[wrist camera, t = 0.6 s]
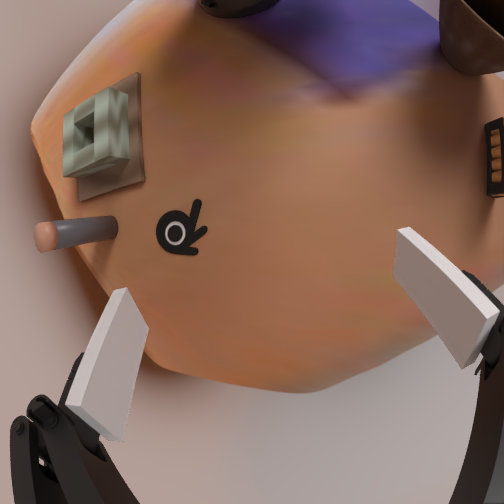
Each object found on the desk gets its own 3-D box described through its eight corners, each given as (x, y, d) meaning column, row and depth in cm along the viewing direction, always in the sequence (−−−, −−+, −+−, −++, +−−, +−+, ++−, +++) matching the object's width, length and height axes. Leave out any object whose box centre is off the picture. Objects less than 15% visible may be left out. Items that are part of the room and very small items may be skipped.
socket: (81, 107, 42) (59, 101, 36) (140, 73, 37) (119, 61, 32) (82, 201, 44) (58, 202, 38) (145, 180, 40) (120, 178, 34)
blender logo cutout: (195, 190, 38) (192, 189, 38) (223, 235, 38) (221, 235, 37) (152, 226, 41) (149, 227, 40) (177, 268, 41) (174, 269, 40)
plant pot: (445, 101, 26) (498, 51, 11) (400, 20, 25) (418, -46, 10) (509, 96, 22) (563, 63, 7) (467, 21, 21) (498, -28, 5)
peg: (101, 217, 43) (32, 225, 29) (116, 213, 42) (45, 220, 28) (104, 240, 44) (36, 253, 30) (119, 237, 43) (49, 250, 28)
